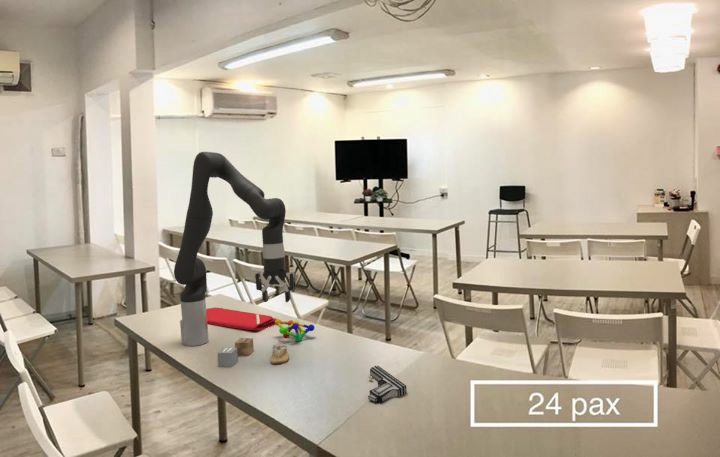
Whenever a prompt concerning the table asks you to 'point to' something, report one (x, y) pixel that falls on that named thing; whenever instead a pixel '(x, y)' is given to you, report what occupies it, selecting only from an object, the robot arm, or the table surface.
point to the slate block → (227, 357)
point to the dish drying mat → (239, 319)
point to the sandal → (279, 354)
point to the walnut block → (244, 346)
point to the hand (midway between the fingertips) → (276, 301)
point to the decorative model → (295, 326)
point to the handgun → (385, 385)
